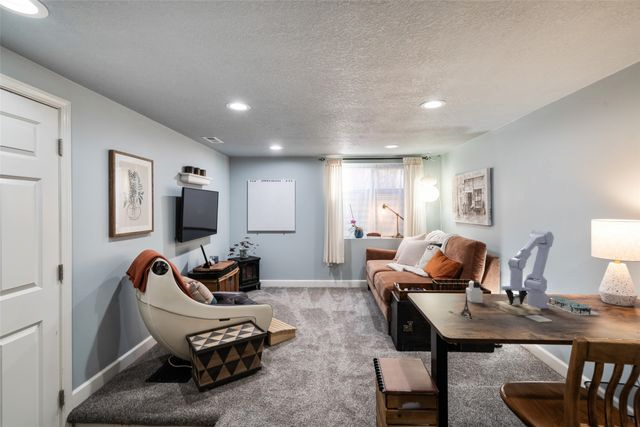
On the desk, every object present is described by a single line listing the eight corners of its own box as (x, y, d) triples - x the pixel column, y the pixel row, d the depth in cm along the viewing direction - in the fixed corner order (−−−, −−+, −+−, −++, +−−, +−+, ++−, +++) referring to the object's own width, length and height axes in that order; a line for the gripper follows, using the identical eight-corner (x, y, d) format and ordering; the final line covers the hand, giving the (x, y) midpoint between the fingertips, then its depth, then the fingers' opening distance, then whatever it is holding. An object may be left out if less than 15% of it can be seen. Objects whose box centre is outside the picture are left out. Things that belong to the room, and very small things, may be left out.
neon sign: (623, 306, 165) (578, 308, 160) (623, 314, 165) (578, 316, 160) (583, 295, 185) (543, 296, 180) (583, 302, 185) (542, 303, 181)
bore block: (515, 304, 177) (515, 300, 177) (540, 314, 161) (540, 309, 161) (492, 305, 173) (492, 301, 173) (515, 315, 158) (515, 310, 158)
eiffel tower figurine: (446, 312, 163) (447, 287, 163) (461, 310, 166) (462, 286, 166) (468, 322, 149) (469, 295, 148) (484, 320, 152) (485, 294, 152)
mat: (537, 315, 158) (537, 314, 158) (552, 321, 150) (552, 320, 150) (525, 316, 157) (525, 315, 157) (539, 322, 149) (539, 321, 149)
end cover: (513, 308, 170) (513, 294, 170) (521, 310, 166) (522, 296, 166) (509, 309, 168) (509, 295, 168) (517, 311, 164) (518, 297, 164)
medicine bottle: (477, 299, 186) (478, 280, 185) (482, 303, 179) (483, 283, 178) (465, 298, 186) (466, 279, 186) (470, 302, 179) (470, 282, 179)
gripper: (504, 280, 164) (504, 304, 165) (534, 282, 162) (533, 307, 162) (499, 277, 171) (499, 301, 172) (528, 279, 169) (527, 303, 169)
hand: (515, 303), depth 167 cm, fingers closed on end cover, 4 cm apart
